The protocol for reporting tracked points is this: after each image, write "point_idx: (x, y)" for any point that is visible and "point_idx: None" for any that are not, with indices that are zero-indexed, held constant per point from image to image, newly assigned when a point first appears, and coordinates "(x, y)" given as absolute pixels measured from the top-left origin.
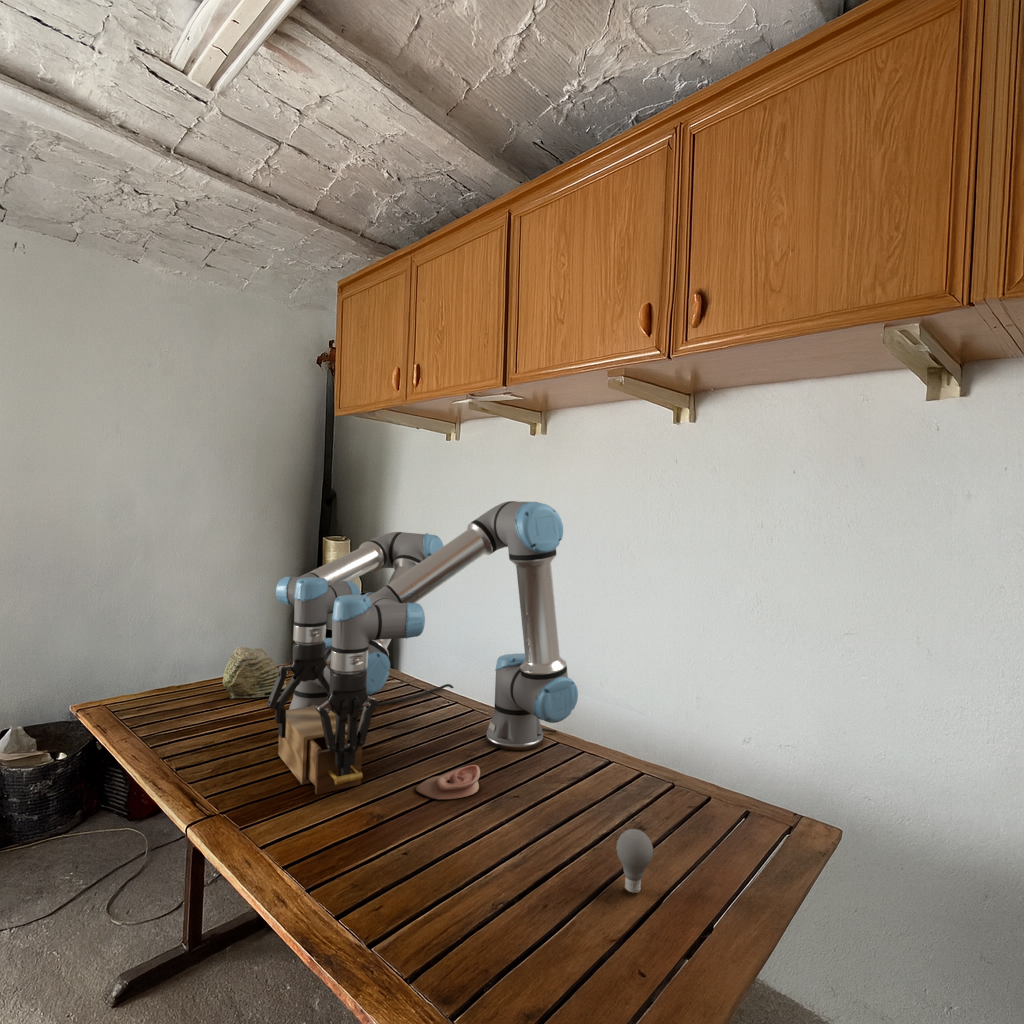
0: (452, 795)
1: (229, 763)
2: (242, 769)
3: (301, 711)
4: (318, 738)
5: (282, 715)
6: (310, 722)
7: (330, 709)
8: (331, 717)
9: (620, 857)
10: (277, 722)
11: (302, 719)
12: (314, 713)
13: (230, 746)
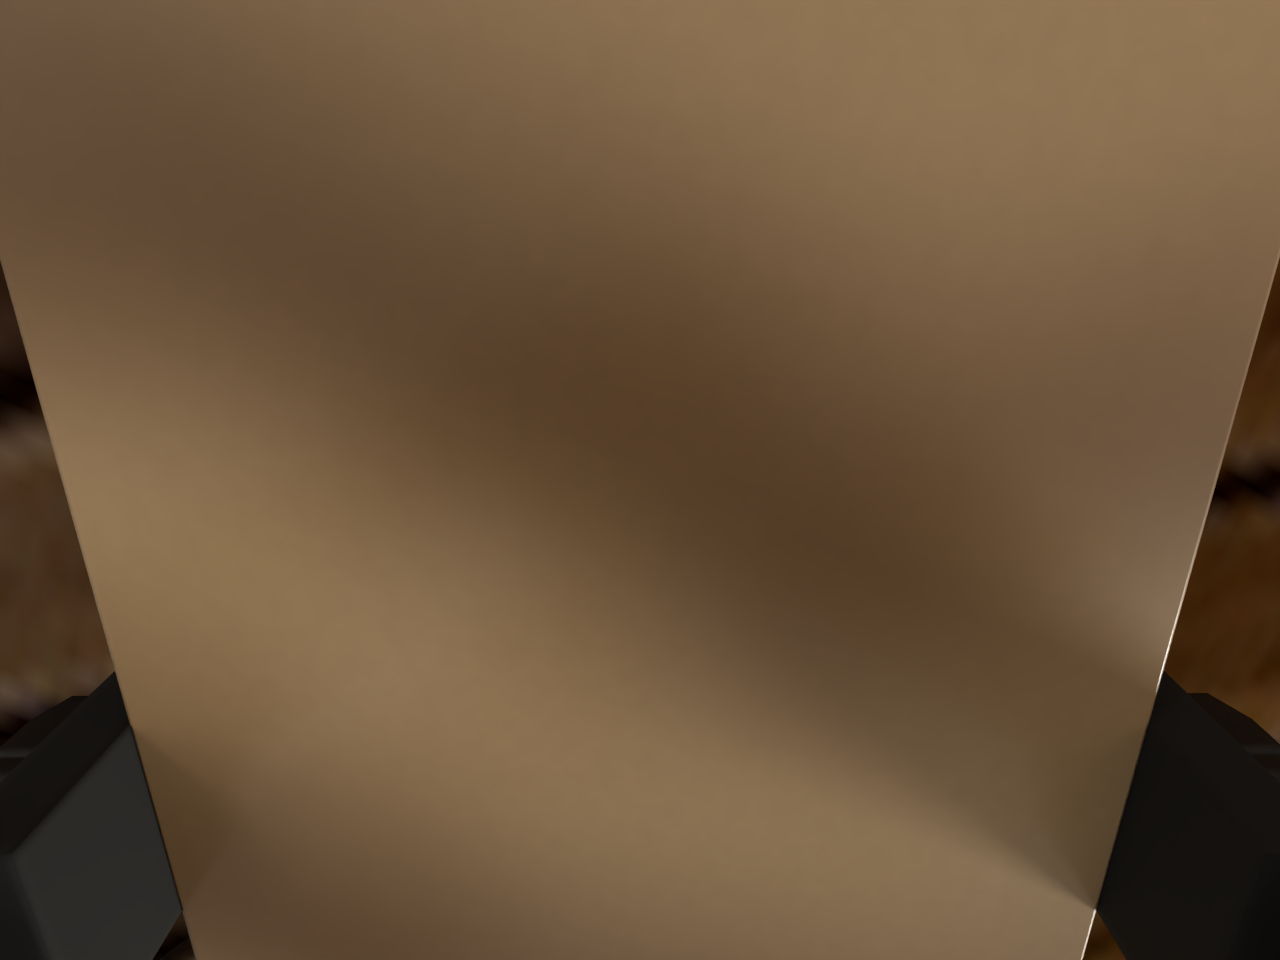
0: None
1: (1276, 631)
2: (1258, 454)
3: (725, 888)
4: None
5: (1259, 764)
6: (824, 112)
7: (126, 746)
8: (180, 228)
9: None
10: (1220, 708)
11: (905, 444)
12: (519, 685)
13: (1101, 924)
